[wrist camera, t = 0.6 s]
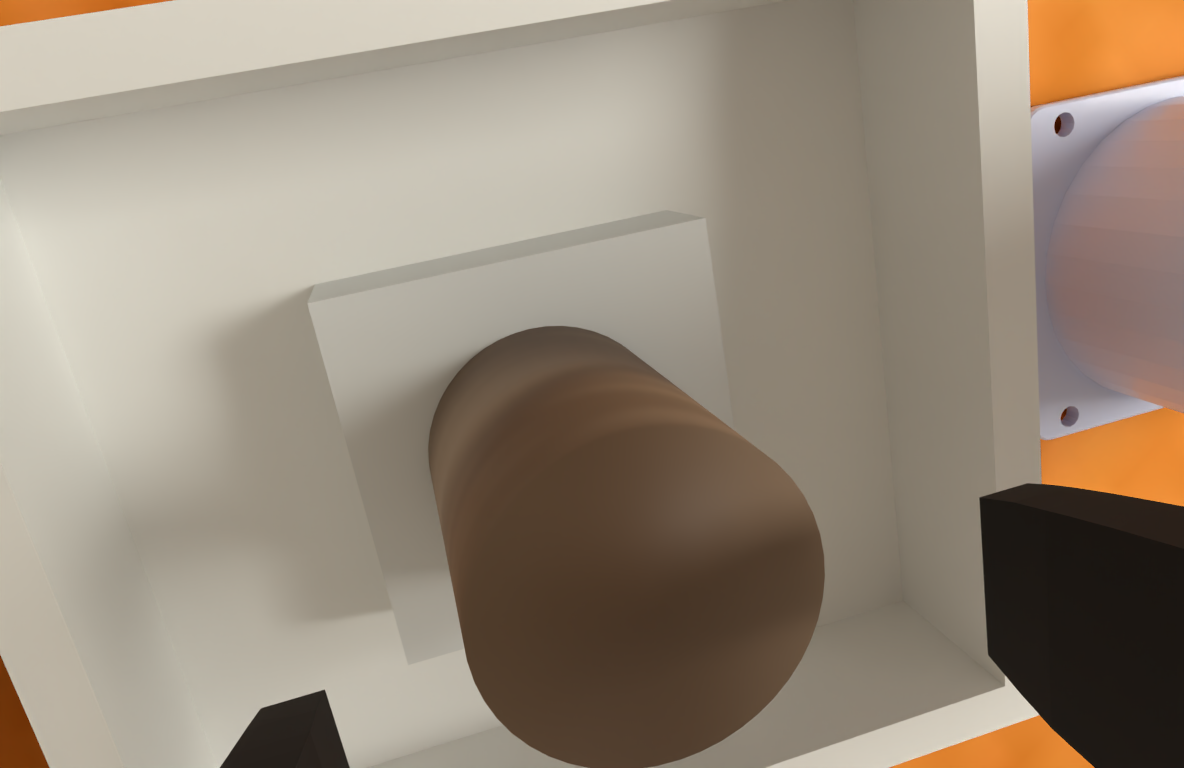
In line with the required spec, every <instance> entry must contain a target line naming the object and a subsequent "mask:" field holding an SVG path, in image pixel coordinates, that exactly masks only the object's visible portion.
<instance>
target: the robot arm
mask: <svg viewBox="0 0 1184 768" xmlns="http://www.w3.org/2000/svg"><path fill="white" fill-rule="evenodd" d="M1058 116H1059V117H1060V119H1061V129H1060V131H1059V132H1058V133H1057V134H1056V133H1055V129H1054V124H1055V120H1056V119H1057V117H1058ZM1031 142H1032V176H1033V210H1034V244H1035V278H1036V312H1037V346H1038V381H1039V415H1040V438H1041V439H1043V440H1052V439H1055V438H1059V437H1062V436H1066V435H1069V434H1073V433H1076V432H1080V431H1083V430H1087V429H1090V428H1094V427H1097V426H1101V425H1104V424H1108V423H1112V422H1115V421H1119V420H1122V419H1126V418H1129V417H1133V416H1136V415H1140V414H1143V413H1147V412H1150V411H1154V410H1157V409H1161V408H1164V407H1166V408H1169V409H1172V410H1175V411H1178V412H1181V413H1184V75H1183V76H1178V77H1173V78H1169V79H1164V80H1159V81H1154V82H1149V83H1144V84H1139V85H1134V86H1130V87H1125V88H1120V89H1115V90H1110V91H1105V92H1100V93H1096V94H1091V95H1086V96H1081V97H1076V98H1071V99H1066V100H1061V101H1057V102H1052V103H1047V104H1042V105H1037V106H1033V107H1031ZM1066 408H1067V413H1066V416H1065V417H1064V418H1063V420H1060V419H1061V414H1062V412H1063V411H1064V410H1065V409H1066ZM979 501H980V519H981V537H982V556H983V574H984V593H985V611H986V629H987V648H988V656H989V657H990V658H991V659H992V660H993V662H994V663H995V664H996V665H997V666H998V667H999V669H1000V670H1001V671H1002V672H1003V673H1004V675H1005V676H1006V677H1007V678H1008V679H1009V681H1010V682H1011V683H1012V684H1013V685H1014V687H1015V688H1016V689H1017V690H1018V691H1019V692H1020V694H1021V695H1022V696H1023V697H1024V698H1025V699H1026V700H1027V701H1028V703H1029V704H1030V705H1031V706H1032V707H1033V708H1034V709H1035V710H1036V711H1037V712H1038V714H1039V715H1040V716H1041V717H1042V718H1043V719H1044V720H1045V721H1046V722H1047V723H1048V725H1049V726H1050V727H1051V728H1052V729H1053V730H1054V731H1055V732H1056V733H1058V734H1059V735H1060V736H1061V737H1062V738H1063V739H1064V740H1065V741H1066V742H1067V743H1068V744H1069V745H1070V746H1072V747H1073V748H1074V749H1075V750H1076V751H1077V752H1078V753H1079V754H1080V755H1082V756H1083V757H1084V758H1085V759H1086V760H1087V761H1088V762H1089V763H1091V764H1092V765H1093V766H1094V767H1095V768H1184V507H1183V506H1177V505H1172V504H1166V503H1161V502H1155V501H1150V500H1144V499H1139V498H1133V497H1128V496H1122V495H1116V494H1111V493H1104V492H1098V491H1092V490H1086V489H1079V488H1072V487H1064V486H1055V485H1045V484H1032V483H1026V484H1023V485H1020V486H1016V487H1013V488H1009V489H1006V490H1003V491H999V492H996V493H992V494H989V495H986V496H982V497H979ZM220 768H350V767H349V764H348V761H347V758H346V754H345V751H344V748H343V745H342V742H341V739H340V735H339V732H338V729H337V726H336V723H335V720H334V717H333V713H332V710H331V707H330V704H329V701H328V698H327V694H326V691H325V690H321V691H318V692H315V693H311V694H308V695H304V696H301V697H298V698H294V699H291V700H287V701H284V702H280V703H277V704H274V705H270V706H267V707H263V708H261V709H260V710H259V712H258V713H257V714H256V716H255V717H254V718H253V720H252V721H251V723H250V724H249V725H248V727H247V728H246V730H245V731H244V733H243V734H242V736H241V737H240V739H239V740H238V741H237V743H236V744H235V746H234V747H233V749H232V750H231V752H230V753H229V755H228V756H227V758H226V759H225V761H224V762H223V764H222V765H221V767H220Z"/></svg>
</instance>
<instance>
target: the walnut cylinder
mask: <svg viewBox="0 0 1184 768" xmlns="http://www.w3.org/2000/svg"><path fill="white" fill-rule="evenodd" d="M428 456H429V467H430V473H431V479H432V484H433V489H434V494H435V499H436V504H437V509H438V515H439V520H440V525H441V530H442V535H443V540H444V545H445V551H446V556H447V561H448V566H449V571H450V576H451V582H452V587H453V592H454V597H455V602H456V607H457V612H458V618H459V623H460V628H461V633H462V638H463V643H464V648H465V654H466V659H467V662H468V665H469V668H470V671H471V674H472V677H473V680H474V683H475V685H476V686H477V688H478V690H479V692H480V694H481V696H482V698H483V700H484V702H485V703H486V704H487V706H488V707H489V708H490V710H491V711H492V712H493V714H494V715H495V716H496V718H497V719H498V720H499V721H500V722H501V723H502V724H503V725H504V726H505V727H506V728H507V729H508V730H509V731H510V732H511V733H512V734H513V735H515V736H516V737H518V738H519V739H520V740H522V741H523V742H524V743H526V744H527V745H529V746H530V747H532V748H534V749H536V750H538V751H540V752H541V753H543V754H545V755H547V756H549V757H552V758H555V759H558V760H560V761H563V762H566V763H569V764H573V765H578V766H582V767H587V768H648V767H654V766H659V765H663V764H667V763H670V762H674V761H678V760H681V759H684V758H686V757H689V756H691V755H694V754H696V753H699V752H701V751H703V750H705V749H707V748H709V747H711V746H713V745H715V744H717V743H719V742H721V741H722V740H724V739H725V738H727V737H728V736H730V735H731V734H733V733H734V732H736V731H737V730H739V729H740V728H742V727H743V726H744V725H745V724H747V723H748V722H749V721H750V720H752V719H753V718H754V717H755V716H756V715H758V714H759V713H760V712H761V711H762V710H763V709H764V708H765V707H766V706H767V705H768V704H769V703H770V702H771V701H772V700H773V699H774V698H775V696H776V695H777V694H778V693H779V691H780V690H781V689H782V688H783V686H784V685H785V684H786V683H787V681H788V680H789V679H790V677H791V676H792V674H793V672H794V671H795V669H796V668H797V666H798V664H799V663H800V661H801V660H802V658H803V655H804V653H805V651H806V649H807V647H808V645H809V643H810V641H811V639H812V636H813V633H814V630H815V627H816V624H817V621H818V618H819V614H820V609H821V604H822V600H823V592H824V581H825V567H824V552H823V547H822V541H821V536H820V532H819V529H818V526H817V523H816V520H815V517H814V514H813V512H812V510H811V508H810V506H809V504H808V502H807V500H806V498H805V496H804V495H803V493H802V492H801V491H800V489H799V488H798V486H797V485H796V484H795V482H794V481H793V479H792V478H791V477H790V476H789V475H788V474H787V473H786V472H785V471H784V470H783V469H782V468H781V467H780V466H779V465H778V464H777V463H776V462H775V461H774V460H772V459H771V458H770V457H768V456H767V455H766V454H764V453H763V452H762V451H760V450H759V449H758V448H757V447H755V446H754V445H753V444H751V443H750V442H749V441H747V440H746V439H745V438H743V437H742V436H741V435H740V434H738V433H737V432H736V431H734V430H733V429H732V428H730V427H729V426H728V425H726V424H725V423H724V422H723V421H721V420H720V419H719V418H717V417H716V416H715V415H713V414H712V413H711V412H709V411H708V410H707V409H706V408H704V407H703V406H702V405H700V404H699V403H698V402H696V401H695V400H694V399H692V398H691V397H690V396H689V395H687V394H686V393H685V392H683V391H682V390H681V389H679V388H678V387H677V386H675V385H674V384H673V383H672V382H670V381H669V380H668V379H666V378H665V377H664V376H662V375H661V374H660V373H658V372H657V371H656V370H655V369H653V368H652V367H651V366H649V365H648V364H647V363H645V362H644V361H643V360H641V359H640V358H639V357H638V356H636V355H635V354H634V353H632V352H631V351H630V350H628V349H627V348H626V347H624V346H623V345H622V344H620V343H618V342H616V341H615V340H613V339H611V338H609V337H607V336H605V335H602V334H599V333H597V332H594V331H591V330H587V329H582V328H578V327H569V326H544V327H538V328H532V329H527V330H524V331H521V332H517V333H514V334H511V335H509V336H507V337H505V338H502V339H500V340H498V341H496V342H494V343H493V344H491V345H490V346H488V347H486V348H485V349H483V350H482V351H480V352H479V353H478V354H477V355H475V356H474V357H473V358H472V359H470V360H469V361H468V362H467V363H466V364H465V365H464V366H463V368H462V369H461V370H460V371H459V372H458V373H457V374H456V376H455V377H454V378H453V380H452V381H451V382H450V384H449V385H448V386H447V388H446V390H445V392H444V394H443V395H442V397H441V399H440V401H439V403H438V406H437V409H436V411H435V414H434V417H433V421H432V425H431V429H430V435H429V444H428Z"/></svg>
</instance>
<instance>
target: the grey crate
mask: <svg viewBox="0 0 1184 768" xmlns="http://www.w3.org/2000/svg"><path fill="white" fill-rule="evenodd" d="M544 326H569V327H578V328H582V329H587V330H591V331H594V332H597V333H599V334H602V335H605V336H607V337H609V338H611V339H613V340H615V341H616V342H618V343H620V344H622V345H623V346H624V347H626V348H627V349H628V350H630V351H631V352H632V353H634V354H635V355H636V356H638V357H639V358H640V359H641V360H643V361H644V362H645V363H647V364H648V365H649V366H651V367H652V368H653V369H655V370H656V371H657V372H658V373H660V374H661V375H662V376H664V377H665V378H666V379H668V380H669V381H670V382H672V383H673V384H674V385H675V386H677V387H678V388H679V389H681V390H682V391H683V392H685V393H686V394H687V395H689V396H690V397H691V398H692V399H694V400H695V401H696V402H698V403H699V404H700V405H702V406H703V407H704V408H706V409H707V410H708V411H709V412H711V413H712V414H713V415H715V416H716V417H717V418H719V419H720V420H721V421H723V422H724V423H725V424H726V425H728V426H729V427H730V428H732V429H733V430H734V431H736V432H737V433H738V434H740V435H741V436H742V437H743V438H745V439H746V440H747V441H749V442H750V443H751V444H753V445H754V446H755V447H757V448H758V449H759V450H760V451H762V452H763V453H764V454H766V455H767V456H768V457H770V458H771V459H772V460H774V461H775V462H776V463H777V464H778V465H779V466H780V467H781V468H782V469H783V470H784V471H785V472H786V473H787V474H788V475H789V476H790V477H791V478H792V479H793V481H794V482H795V484H796V485H797V486H798V488H799V489H800V491H801V492H802V493H803V495H804V496H805V498H806V500H807V502H808V504H809V506H810V508H811V510H812V512H813V514H814V517H815V520H816V523H817V526H818V529H819V532H820V536H821V541H822V547H823V552H824V567H825V581H824V592H823V600H822V604H821V609H820V614H819V618H818V621H817V624H816V627H815V630H814V633H813V636H812V639H811V641H810V643H809V645H808V647H807V649H806V651H805V653H804V655H803V658H802V660H801V661H800V663H799V664H798V666H797V668H796V669H795V671H794V672H793V674H792V676H791V677H790V679H789V680H788V681H787V683H786V684H785V685H784V686H783V688H782V689H781V690H780V691H779V693H778V694H777V695H776V696H775V698H774V699H773V700H772V701H771V702H770V703H769V704H768V705H767V706H766V707H765V708H764V709H763V710H762V711H761V712H760V713H759V714H758V715H756V716H755V717H754V718H753V719H752V720H750V721H749V722H748V723H747V724H745V725H744V726H743V727H742V728H740V729H739V730H737V731H736V732H734V733H733V734H731V735H730V736H728V737H727V738H725V739H724V740H722V741H721V742H719V743H717V744H715V745H713V746H711V747H709V748H707V749H705V750H703V751H701V752H699V753H696V754H694V755H691V756H689V757H686V758H684V759H681V760H678V761H674V762H670V763H667V764H663V765H659V766H654V767H648V768H889V767H892V766H895V765H897V764H900V763H903V762H906V761H909V760H912V759H915V758H918V757H920V756H923V755H926V754H929V753H932V752H935V751H938V750H940V749H943V748H946V747H949V746H952V745H955V744H958V743H961V742H963V741H966V740H969V739H972V738H975V737H978V736H981V735H983V734H986V733H989V732H992V731H995V730H998V729H1001V728H1004V727H1006V726H1009V725H1012V724H1015V723H1018V722H1021V721H1024V720H1026V719H1029V718H1032V717H1035V716H1038V715H1039V714H1038V712H1037V711H1036V710H1035V709H1034V708H1033V707H1032V706H1031V705H1030V704H1029V703H1028V701H1027V700H1026V699H1025V698H1024V697H1023V696H1022V695H1021V694H1020V692H1019V691H1018V690H1017V689H1016V688H1015V687H1014V685H1013V684H1012V683H1011V682H1010V681H1009V679H1008V678H1007V677H1006V676H1005V675H1004V673H1003V672H1002V671H1001V670H1000V669H999V667H998V666H997V665H996V664H995V663H994V662H993V660H992V659H991V658H990V657H989V656H988V648H987V629H986V611H985V593H984V574H983V556H982V537H981V519H980V501H979V497H982V496H986V495H989V494H992V493H996V492H999V491H1003V490H1006V489H1009V488H1013V487H1016V486H1020V485H1023V484H1026V483H1032V484H1042V483H1041V449H1040V415H1039V381H1038V346H1037V312H1036V278H1035V244H1034V210H1033V176H1032V142H1031V108H1030V74H1029V40H1028V6H1027V0H174V1H167V2H161V3H154V4H147V5H141V6H134V7H127V8H121V9H114V10H107V11H101V12H94V13H87V14H81V15H74V16H68V17H61V18H54V19H48V20H41V21H34V22H28V23H21V24H14V25H8V26H1V27H0V655H1V657H2V660H3V662H4V664H5V667H6V669H7V671H8V673H9V676H10V678H11V680H12V683H13V685H14V687H15V690H16V692H17V694H18V696H19V699H20V701H21V703H22V706H23V708H24V710H25V712H26V715H27V717H28V719H29V722H30V724H31V726H32V728H33V731H34V733H35V735H36V738H37V740H38V742H39V745H40V747H41V749H42V751H43V754H44V756H45V758H46V761H47V763H48V765H49V767H50V768H220V767H221V765H222V764H223V762H224V761H225V759H226V758H227V756H228V755H229V753H230V752H231V750H232V749H233V747H234V746H235V744H236V743H237V741H238V740H239V739H240V737H241V736H242V734H243V733H244V731H245V730H246V728H247V727H248V725H249V724H250V723H251V721H252V720H253V718H254V717H255V716H256V714H257V713H258V712H259V710H260V709H261V708H263V707H267V706H270V705H274V704H277V703H280V702H284V701H287V700H291V699H294V698H298V697H301V696H304V695H308V694H311V693H315V692H318V691H321V690H325V691H326V694H327V698H328V701H329V704H330V707H331V710H332V713H333V717H334V720H335V723H336V726H337V729H338V732H339V735H340V739H341V742H342V745H343V748H344V751H345V754H346V758H347V761H348V764H349V767H350V768H587V767H582V766H578V765H573V764H569V763H566V762H563V761H560V760H558V759H555V758H552V757H549V756H547V755H545V754H543V753H541V752H540V751H538V750H536V749H534V748H532V747H530V746H529V745H527V744H526V743H524V742H523V741H522V740H520V739H519V738H518V737H516V736H515V735H513V734H512V733H511V732H510V731H509V730H508V729H507V728H506V727H505V726H504V725H503V724H502V723H501V722H500V721H499V720H498V719H497V718H496V716H495V715H494V714H493V712H492V711H491V710H490V708H489V707H488V706H487V704H486V703H485V702H484V700H483V698H482V696H481V694H480V692H479V690H478V688H477V686H476V685H475V683H474V680H473V677H472V674H471V671H470V668H469V665H468V662H467V659H466V654H465V648H464V643H463V638H462V633H461V628H460V623H459V618H458V612H457V607H456V602H455V597H454V592H453V587H452V582H451V576H450V571H449V566H448V561H447V556H446V551H445V545H444V540H443V535H442V530H441V525H440V520H439V515H438V509H437V504H436V499H435V494H434V489H433V484H432V479H431V473H430V467H429V456H428V444H429V435H430V429H431V425H432V421H433V417H434V414H435V411H436V409H437V406H438V403H439V401H440V399H441V397H442V395H443V394H444V392H445V390H446V388H447V386H448V385H449V384H450V382H451V381H452V380H453V378H454V377H455V376H456V374H457V373H458V372H459V371H460V370H461V369H462V368H463V366H464V365H465V364H466V363H467V362H468V361H469V360H470V359H472V358H473V357H474V356H475V355H477V354H478V353H479V352H480V351H482V350H483V349H485V348H486V347H488V346H490V345H491V344H493V343H494V342H496V341H498V340H500V339H502V338H505V337H507V336H509V335H511V334H514V333H517V332H521V331H524V330H527V329H532V328H538V327H544Z"/></svg>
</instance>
